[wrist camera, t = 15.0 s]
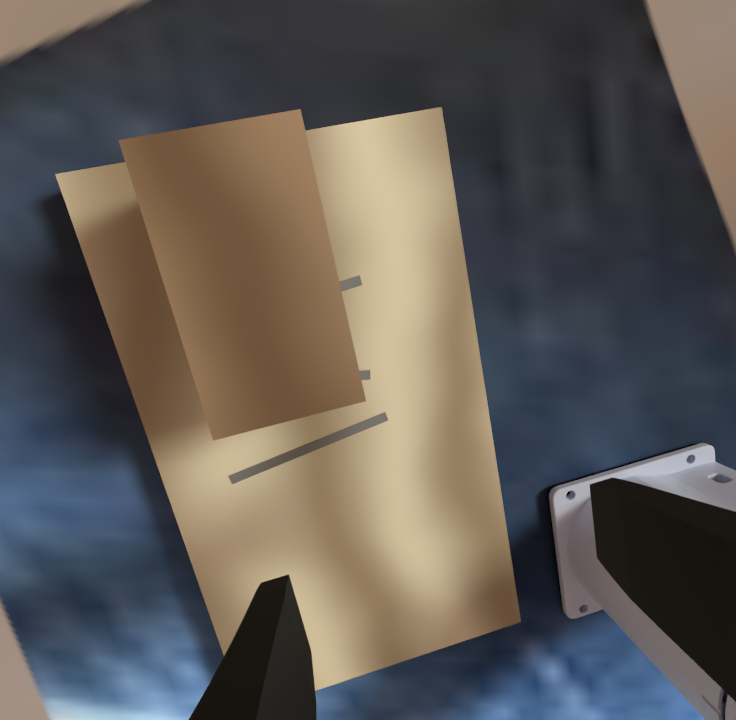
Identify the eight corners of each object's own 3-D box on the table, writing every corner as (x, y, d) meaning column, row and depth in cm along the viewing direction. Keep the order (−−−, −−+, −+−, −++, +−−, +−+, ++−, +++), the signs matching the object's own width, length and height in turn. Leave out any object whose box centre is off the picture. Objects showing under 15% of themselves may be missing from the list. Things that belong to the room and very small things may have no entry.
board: (429, 121, 18) (441, 106, 16) (506, 600, 23) (521, 622, 21) (77, 183, 16) (54, 174, 14) (247, 684, 21) (244, 715, 20)
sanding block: (299, 162, 16) (300, 109, 11) (346, 367, 17) (365, 400, 13) (175, 185, 15) (118, 140, 10) (237, 394, 17) (212, 440, 12)
